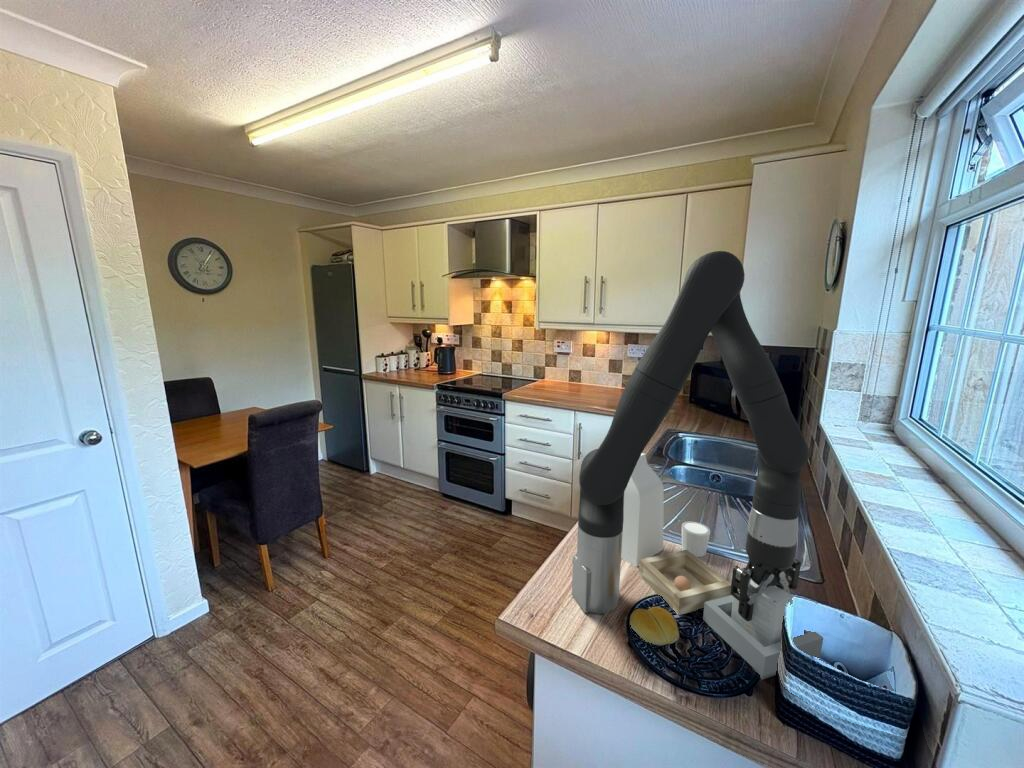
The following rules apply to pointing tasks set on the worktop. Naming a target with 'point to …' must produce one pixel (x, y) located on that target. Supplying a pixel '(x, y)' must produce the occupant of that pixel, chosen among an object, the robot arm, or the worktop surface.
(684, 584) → the ball
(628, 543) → the milk
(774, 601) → the small box
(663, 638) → the bread roll
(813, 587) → the worktop surface
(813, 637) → the grey tub
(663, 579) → the birch box
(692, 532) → the white cylinder
